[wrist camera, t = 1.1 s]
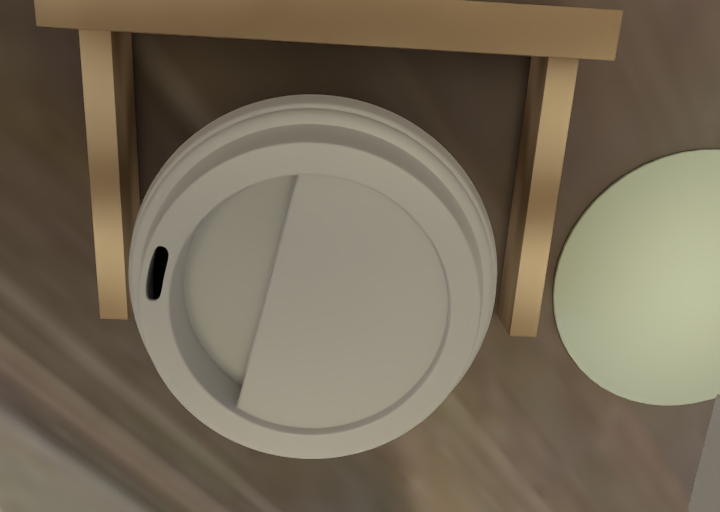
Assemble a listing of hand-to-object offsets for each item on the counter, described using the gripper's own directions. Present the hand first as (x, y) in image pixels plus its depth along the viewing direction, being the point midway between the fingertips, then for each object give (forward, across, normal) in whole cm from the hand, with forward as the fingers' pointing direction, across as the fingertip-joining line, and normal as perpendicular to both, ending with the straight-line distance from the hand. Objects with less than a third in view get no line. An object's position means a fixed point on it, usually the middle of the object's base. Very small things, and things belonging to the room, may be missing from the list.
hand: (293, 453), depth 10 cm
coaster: (+20, +18, -4) cm, 27 cm away
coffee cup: (+20, 0, 0) cm, 20 cm away
